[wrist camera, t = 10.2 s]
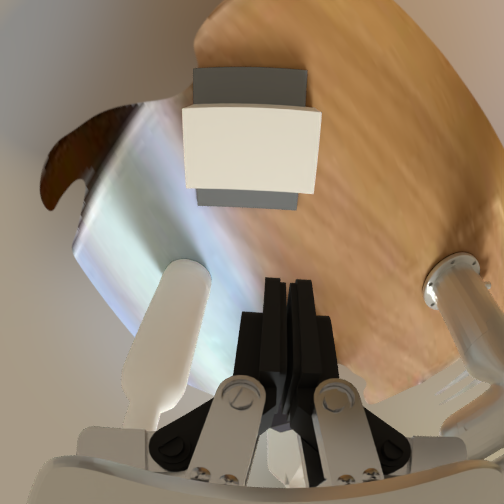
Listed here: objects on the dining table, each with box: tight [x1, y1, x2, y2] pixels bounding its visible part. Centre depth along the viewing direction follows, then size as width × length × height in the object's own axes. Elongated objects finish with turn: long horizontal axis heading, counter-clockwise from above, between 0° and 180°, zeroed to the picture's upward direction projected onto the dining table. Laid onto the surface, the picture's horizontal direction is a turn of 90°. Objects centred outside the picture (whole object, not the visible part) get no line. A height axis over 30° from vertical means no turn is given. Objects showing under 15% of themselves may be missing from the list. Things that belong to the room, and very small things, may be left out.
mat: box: [193, 67, 307, 210], centre depth 33 cm, size 13×18×1 cm
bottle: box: [121, 259, 212, 431], centre depth 33 cm, size 8×8×30 cm
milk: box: [267, 428, 306, 488], centre depth 58 cm, size 12×12×26 cm
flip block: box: [182, 103, 322, 194], centre depth 31 cm, size 5×9×14 cm
